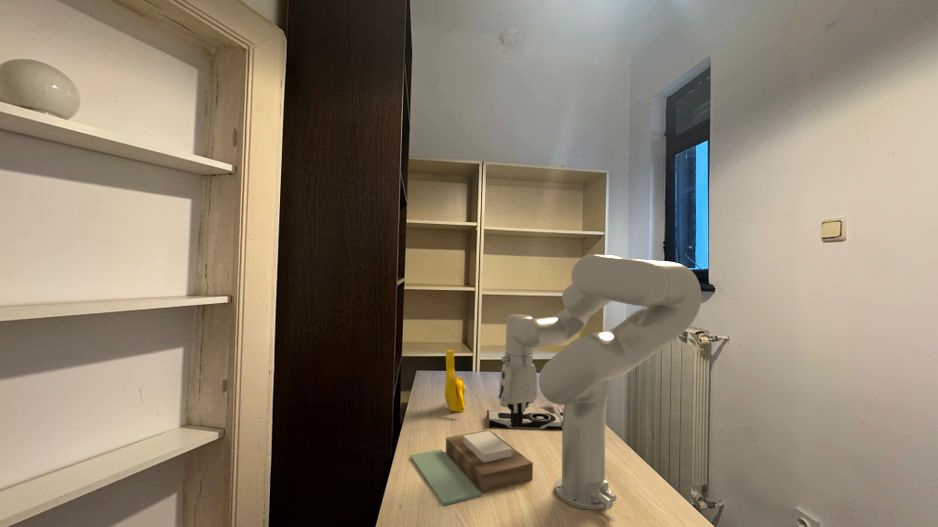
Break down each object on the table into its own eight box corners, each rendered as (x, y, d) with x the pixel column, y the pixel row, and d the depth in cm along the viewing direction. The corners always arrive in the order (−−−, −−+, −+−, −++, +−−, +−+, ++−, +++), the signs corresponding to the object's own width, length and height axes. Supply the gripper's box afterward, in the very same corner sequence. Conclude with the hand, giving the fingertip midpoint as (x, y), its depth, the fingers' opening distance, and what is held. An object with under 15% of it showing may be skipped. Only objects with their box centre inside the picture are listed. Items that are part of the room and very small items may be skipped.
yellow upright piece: (469, 418, 134) (470, 355, 134) (446, 419, 132) (448, 355, 133) (461, 401, 151) (462, 345, 152) (442, 402, 150) (443, 345, 150)
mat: (480, 496, 87) (480, 493, 87) (443, 505, 83) (443, 503, 83) (441, 451, 108) (441, 449, 108) (410, 457, 104) (410, 455, 104)
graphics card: (486, 409, 135) (558, 411, 133) (486, 419, 135) (557, 421, 133) (486, 420, 125) (563, 422, 123) (486, 430, 125) (563, 433, 123)
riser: (532, 479, 94) (532, 462, 94) (482, 492, 88) (482, 475, 88) (489, 443, 114) (489, 429, 114) (445, 452, 108) (446, 437, 108)
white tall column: (563, 390, 149) (580, 413, 124) (563, 405, 149) (580, 431, 124) (548, 390, 149) (561, 413, 124) (548, 405, 149) (562, 431, 124)
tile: (511, 456, 97) (511, 448, 97) (483, 462, 94) (483, 454, 94) (488, 438, 108) (488, 430, 108) (463, 443, 105) (463, 435, 105)
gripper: (502, 365, 100) (500, 435, 100) (548, 360, 106) (546, 426, 106) (488, 358, 106) (486, 424, 106) (533, 354, 113) (530, 416, 113)
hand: (516, 425), depth 106 cm, fingers closed
